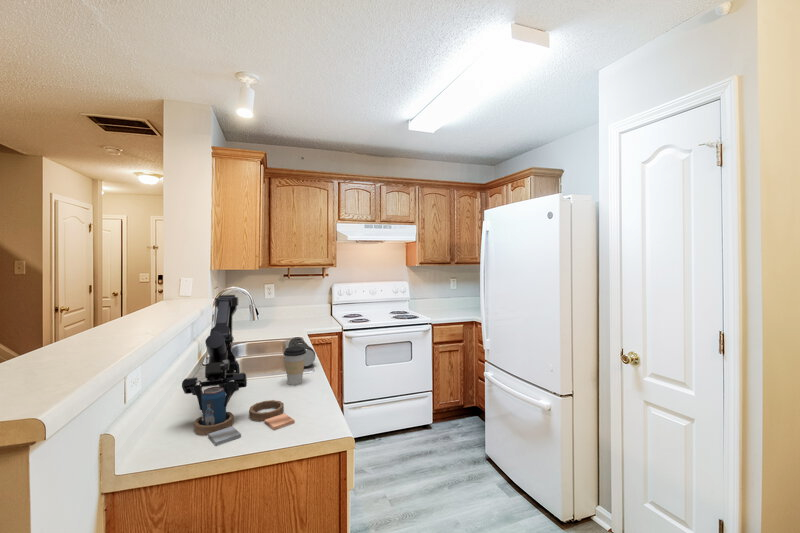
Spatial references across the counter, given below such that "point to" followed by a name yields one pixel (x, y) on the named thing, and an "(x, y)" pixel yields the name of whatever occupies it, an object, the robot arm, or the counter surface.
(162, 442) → the counter surface
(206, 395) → the soda can
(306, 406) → the counter surface
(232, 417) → the grey tag ring
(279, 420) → the terracotta tag ring
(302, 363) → the coffee cup
